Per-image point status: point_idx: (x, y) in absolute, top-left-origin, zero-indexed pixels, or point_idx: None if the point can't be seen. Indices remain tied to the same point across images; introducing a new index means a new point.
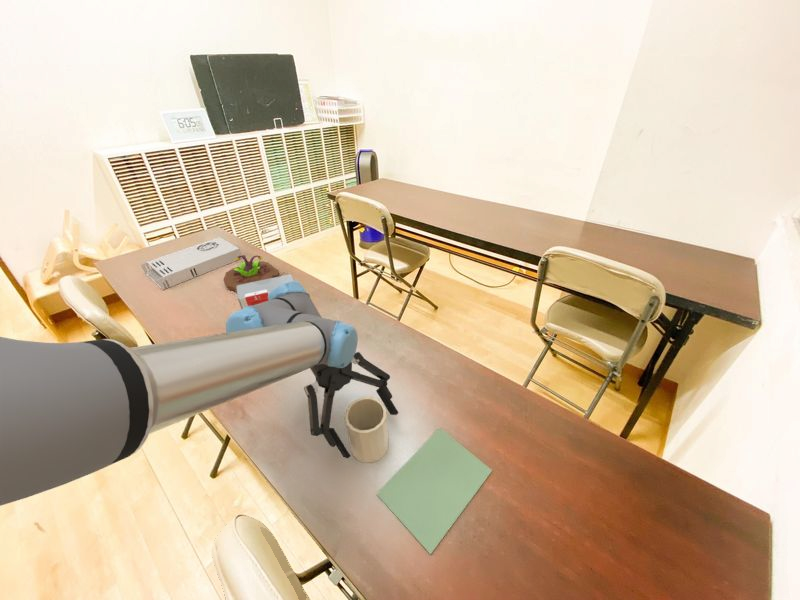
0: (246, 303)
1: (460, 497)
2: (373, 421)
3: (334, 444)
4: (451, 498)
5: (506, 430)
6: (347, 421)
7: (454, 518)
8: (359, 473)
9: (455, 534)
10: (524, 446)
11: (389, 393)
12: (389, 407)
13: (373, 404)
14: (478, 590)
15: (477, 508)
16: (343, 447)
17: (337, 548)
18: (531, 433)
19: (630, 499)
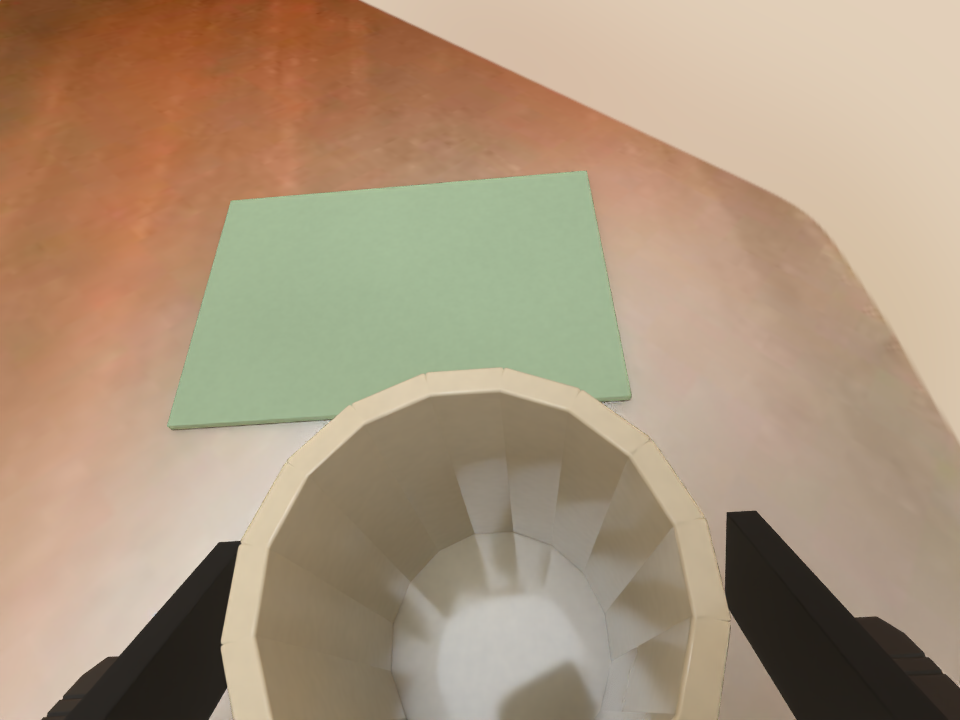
0: None
1: (385, 208)
2: (386, 714)
3: (868, 630)
4: (410, 221)
5: (41, 255)
6: (706, 657)
7: (454, 185)
8: None
9: (485, 169)
10: (83, 193)
11: (75, 700)
12: (219, 623)
13: (299, 690)
14: (538, 87)
15: (375, 173)
16: (783, 560)
17: (877, 351)
18: (16, 202)
19: (116, 23)
